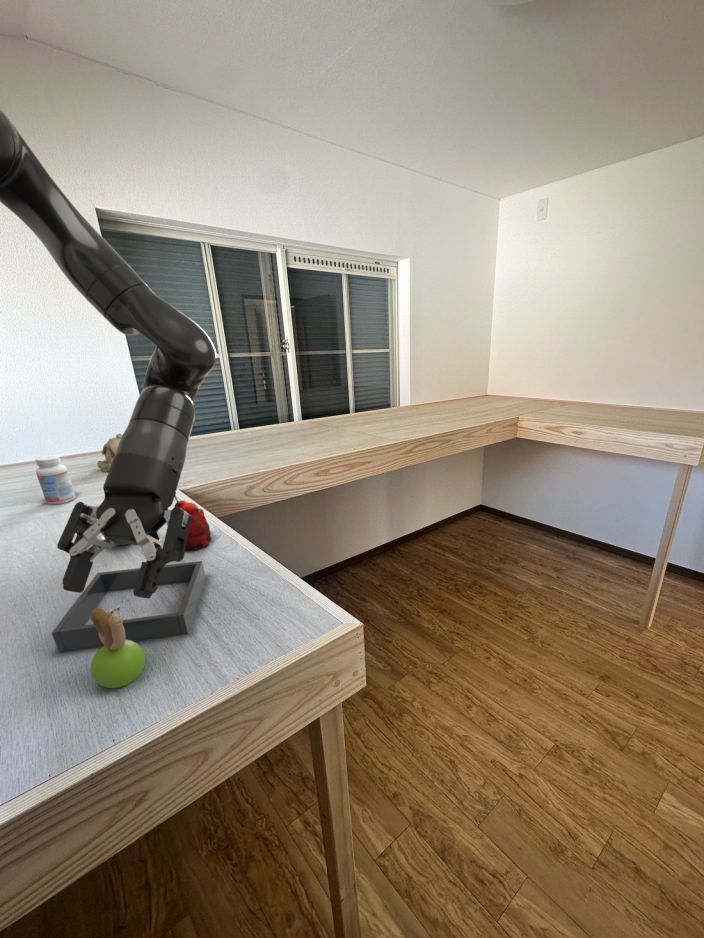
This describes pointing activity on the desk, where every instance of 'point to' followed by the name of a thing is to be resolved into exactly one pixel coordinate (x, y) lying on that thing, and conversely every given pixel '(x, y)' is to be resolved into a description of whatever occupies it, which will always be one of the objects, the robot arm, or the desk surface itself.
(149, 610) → the desk surface
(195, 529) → the red bumpy rounded piece
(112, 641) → the snail figurine
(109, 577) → the grey open frame
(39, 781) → the desk surface
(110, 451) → the ceramic model
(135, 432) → the robot arm
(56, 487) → the pill bottle
